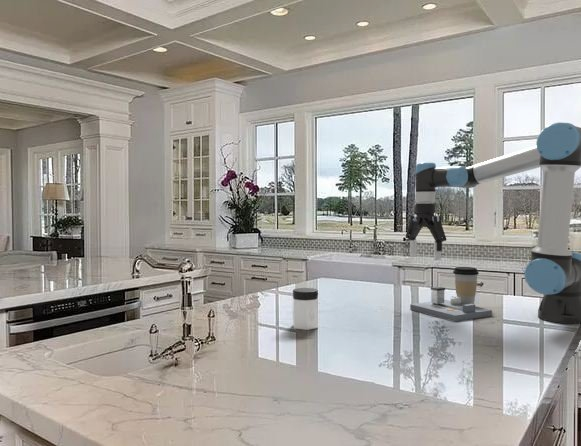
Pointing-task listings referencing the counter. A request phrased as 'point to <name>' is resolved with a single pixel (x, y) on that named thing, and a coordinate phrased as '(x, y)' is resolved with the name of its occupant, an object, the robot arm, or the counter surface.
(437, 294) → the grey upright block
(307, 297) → the jar
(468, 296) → the coffee cup
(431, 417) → the counter surface
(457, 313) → the console
